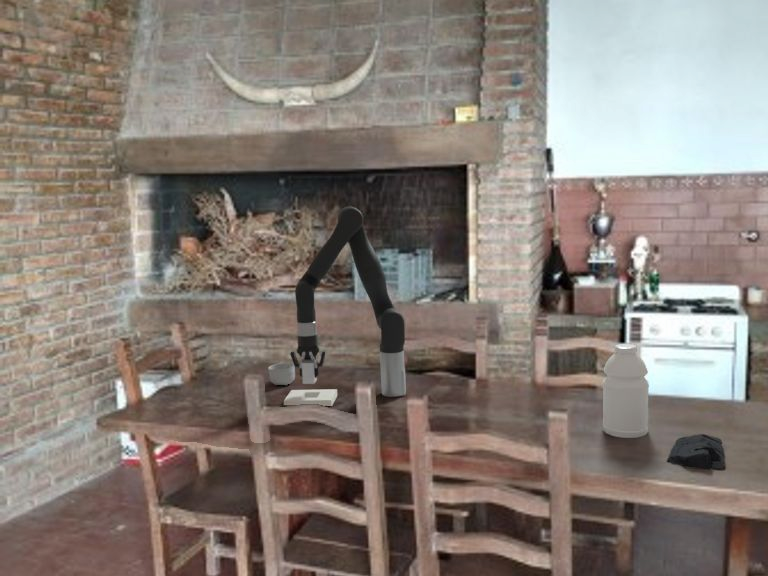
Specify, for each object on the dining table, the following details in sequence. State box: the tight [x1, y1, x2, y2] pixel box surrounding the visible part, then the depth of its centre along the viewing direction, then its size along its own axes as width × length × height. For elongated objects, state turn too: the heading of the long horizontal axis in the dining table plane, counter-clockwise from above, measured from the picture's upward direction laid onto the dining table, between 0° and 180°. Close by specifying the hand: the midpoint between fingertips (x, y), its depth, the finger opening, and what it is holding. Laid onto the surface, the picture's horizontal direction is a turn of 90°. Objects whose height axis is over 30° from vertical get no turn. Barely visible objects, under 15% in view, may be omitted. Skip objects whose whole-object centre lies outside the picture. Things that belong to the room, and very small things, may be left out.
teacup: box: [267, 361, 296, 386], centre depth 314 cm, size 14×11×8 cm
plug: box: [301, 359, 318, 385], centre depth 285 cm, size 4×5×9 cm
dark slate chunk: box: [666, 433, 726, 471], centre depth 219 cm, size 15×22×5 cm
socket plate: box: [283, 388, 338, 407], centre depth 287 cm, size 18×14×2 cm
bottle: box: [602, 343, 650, 439], centre depth 238 cm, size 14×14×28 cm
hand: (309, 377), depth 286 cm, fingers closed on plug, 4 cm apart
